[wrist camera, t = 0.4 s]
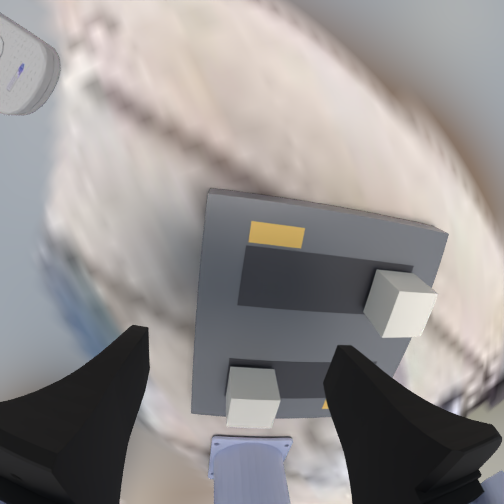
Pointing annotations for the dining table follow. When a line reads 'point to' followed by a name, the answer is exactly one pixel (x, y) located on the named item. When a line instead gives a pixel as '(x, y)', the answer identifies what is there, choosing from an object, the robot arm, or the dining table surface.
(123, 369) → the robot arm
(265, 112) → the dining table surface
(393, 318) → the tab near
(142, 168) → the dining table surface
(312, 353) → the switch box
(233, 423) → the tab far
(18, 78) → the electronic device
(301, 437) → the dining table surface
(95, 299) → the dining table surface
